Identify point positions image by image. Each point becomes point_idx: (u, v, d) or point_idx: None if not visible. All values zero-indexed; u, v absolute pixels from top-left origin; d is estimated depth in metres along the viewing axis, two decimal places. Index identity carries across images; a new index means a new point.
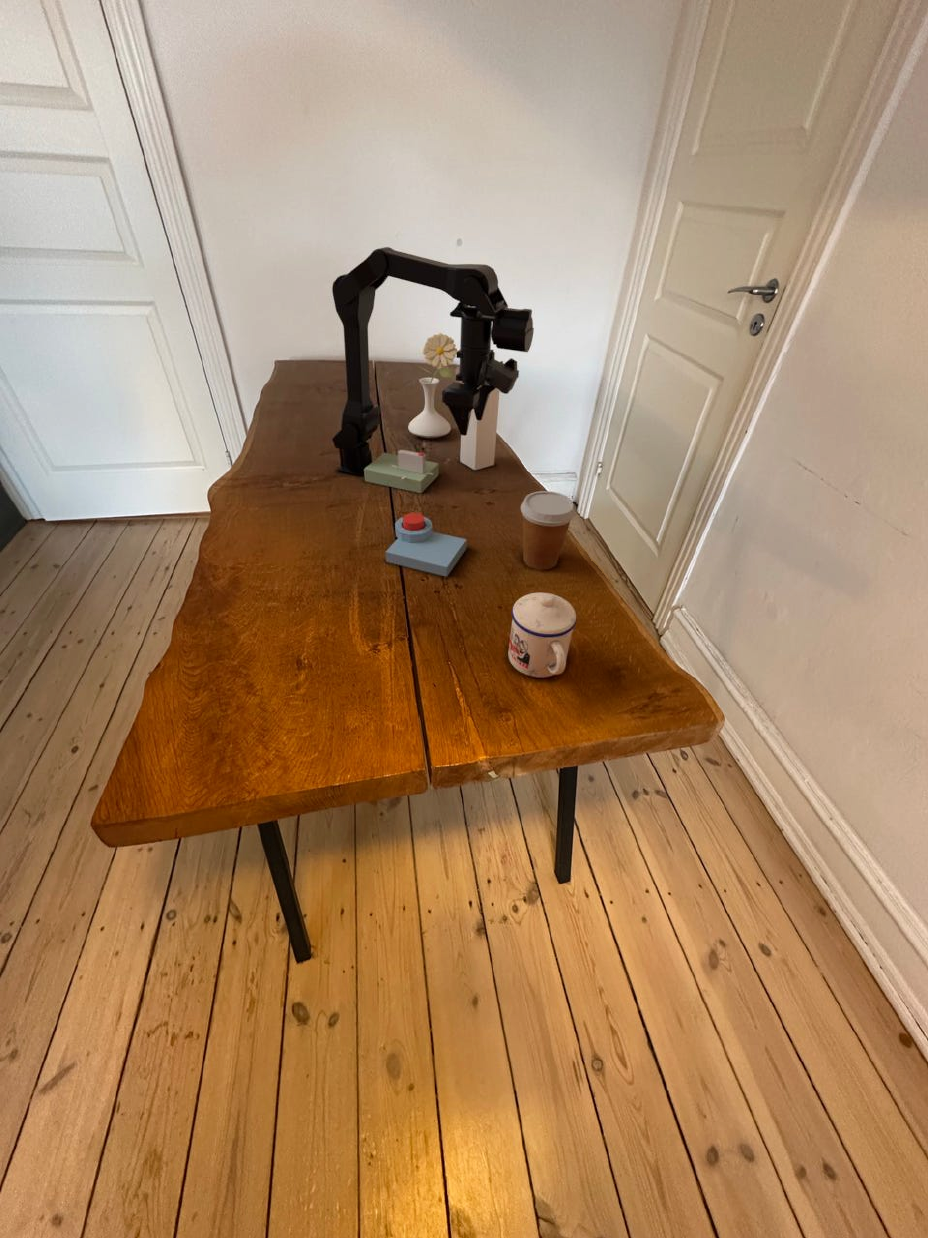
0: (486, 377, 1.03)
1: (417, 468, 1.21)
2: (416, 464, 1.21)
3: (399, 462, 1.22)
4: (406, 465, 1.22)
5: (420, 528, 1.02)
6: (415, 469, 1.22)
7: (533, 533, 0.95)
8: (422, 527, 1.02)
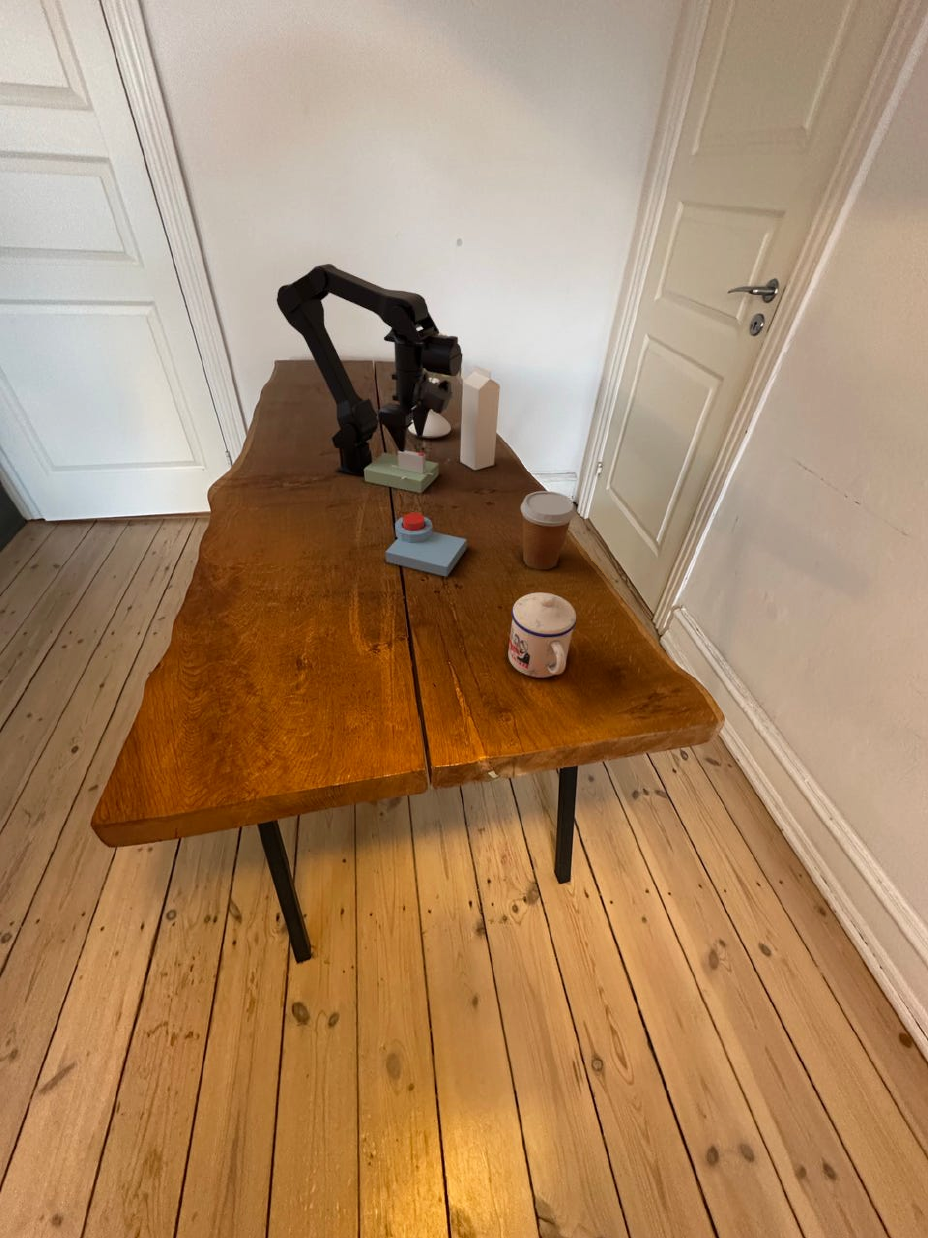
0: (419, 398, 1.09)
1: (417, 468, 1.21)
2: (416, 464, 1.21)
3: (399, 462, 1.22)
4: (406, 465, 1.22)
5: (420, 528, 1.02)
6: (415, 469, 1.22)
7: (533, 533, 0.95)
8: (422, 527, 1.02)
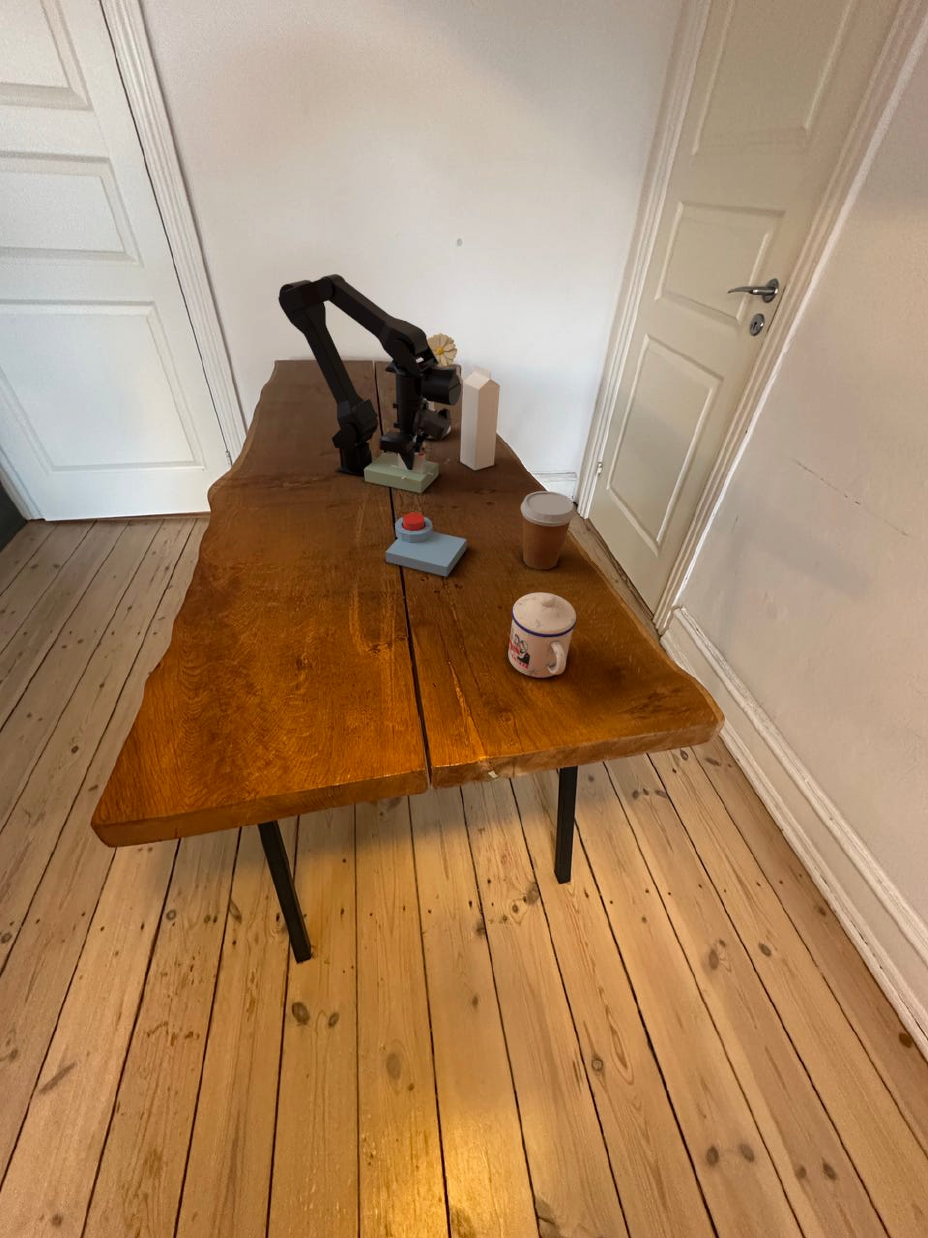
0: (420, 426, 1.13)
1: (417, 468, 1.21)
2: (416, 464, 1.21)
3: (399, 462, 1.22)
4: None
5: (420, 528, 1.02)
6: (415, 469, 1.22)
7: (533, 533, 0.95)
8: (422, 527, 1.02)
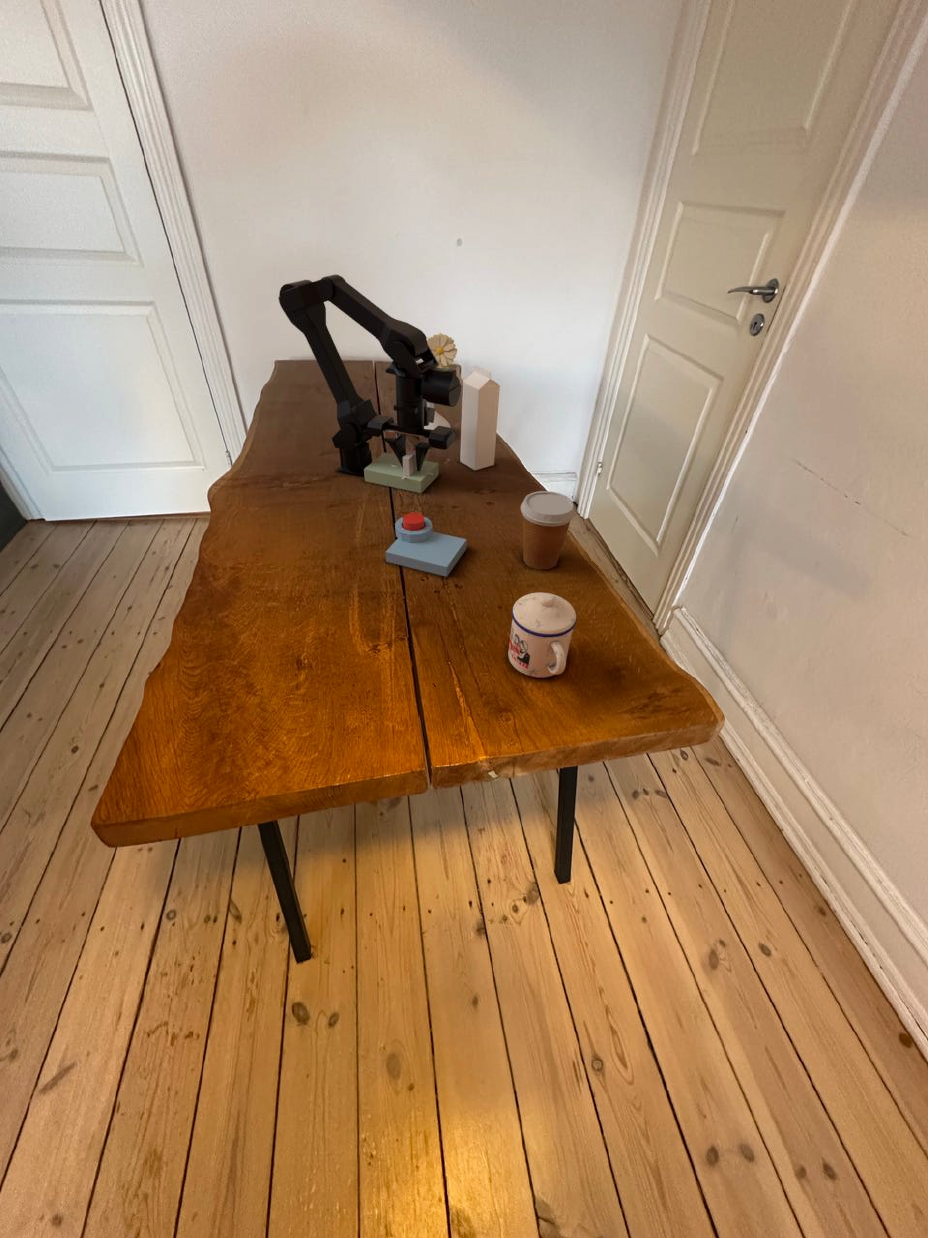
0: (429, 417, 1.17)
1: None
2: None
3: (409, 468, 1.20)
4: (412, 467, 1.21)
5: (420, 528, 1.02)
6: None
7: (533, 533, 0.95)
8: (422, 527, 1.02)
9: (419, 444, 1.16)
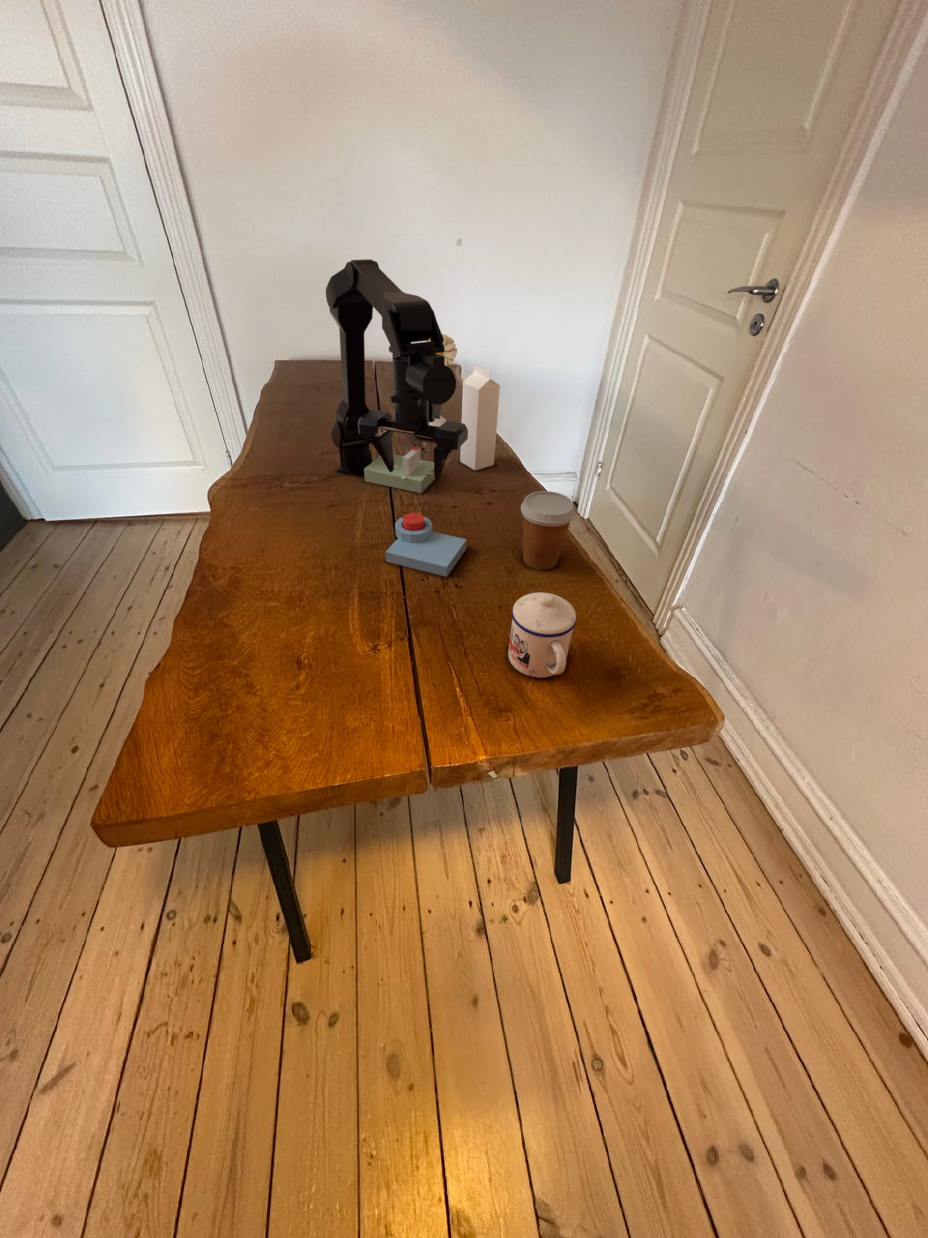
0: (434, 411, 0.96)
1: (417, 464, 1.23)
2: (417, 460, 1.22)
3: (409, 468, 1.20)
4: (412, 467, 1.21)
5: (420, 528, 1.02)
6: (417, 465, 1.23)
7: (533, 533, 0.95)
8: (422, 527, 1.02)
9: (438, 447, 0.93)
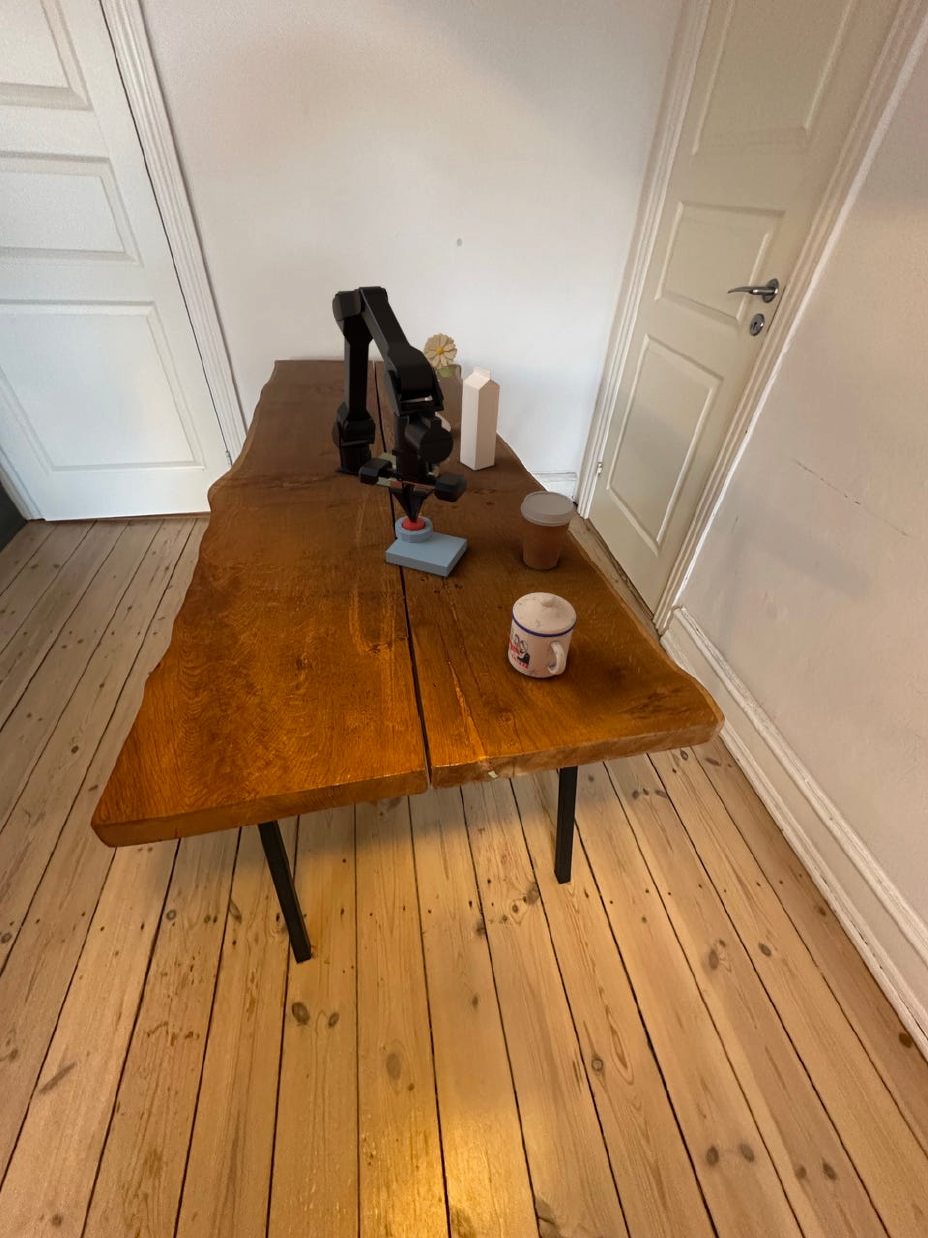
0: None
1: None
2: None
3: None
4: None
5: None
6: None
7: (533, 533, 0.95)
8: None
9: (414, 493, 0.96)
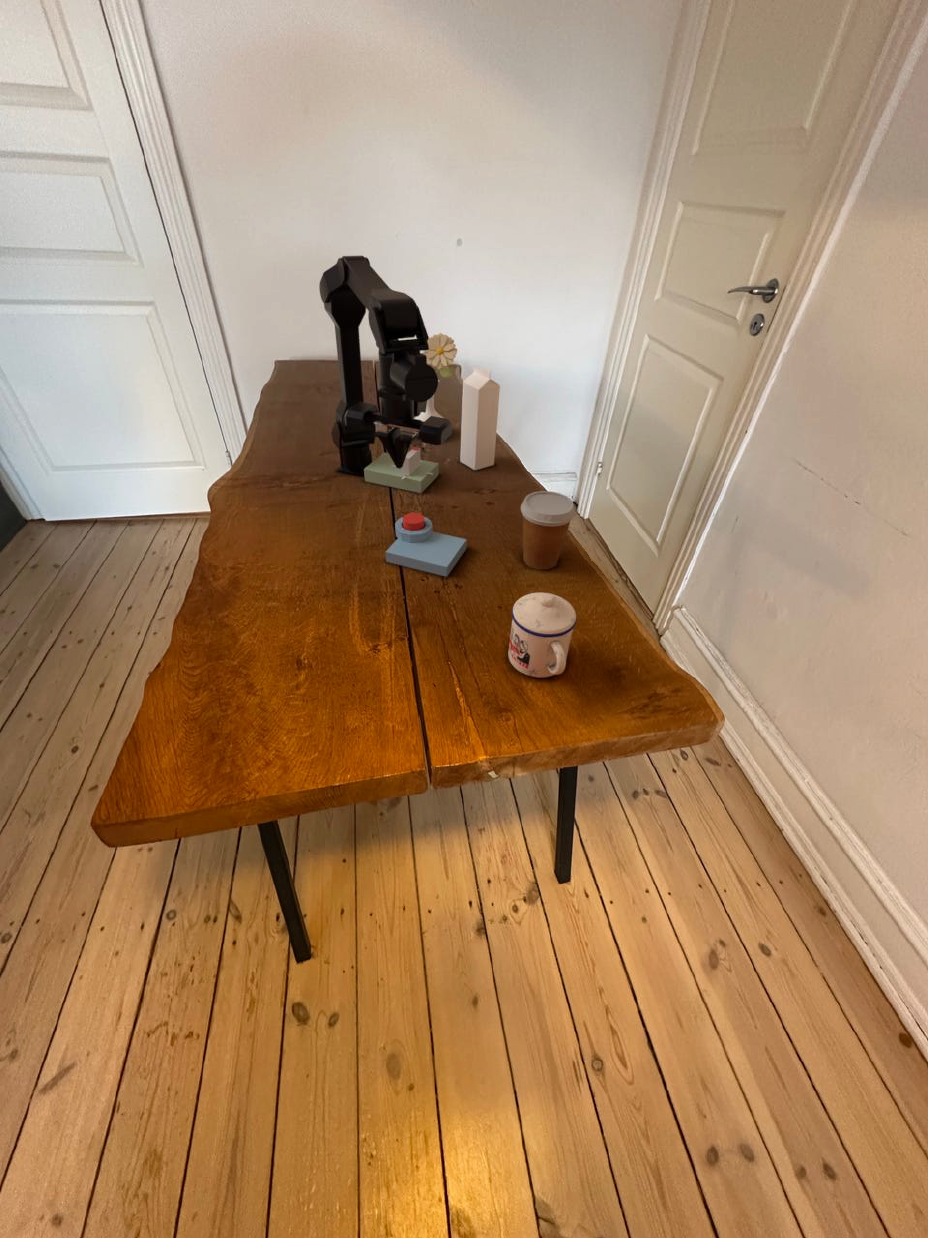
0: (420, 405, 0.98)
1: (417, 464, 1.23)
2: (417, 460, 1.22)
3: (409, 468, 1.20)
4: (412, 467, 1.21)
5: (420, 528, 1.02)
6: (417, 465, 1.23)
7: (533, 533, 0.95)
8: (422, 527, 1.02)
9: (400, 436, 0.97)
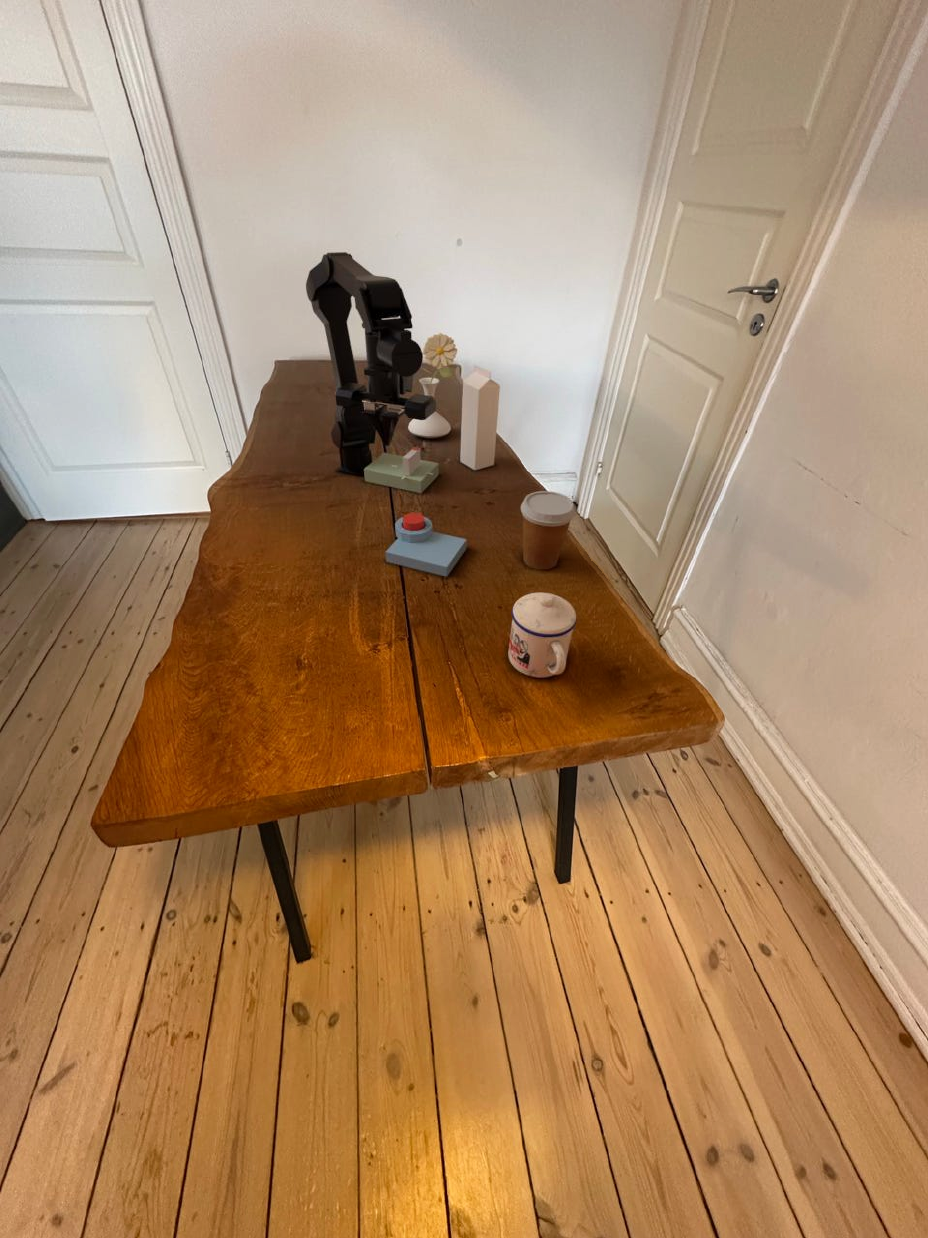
0: (405, 384, 1.03)
1: (417, 464, 1.23)
2: (417, 460, 1.22)
3: (409, 468, 1.20)
4: (412, 467, 1.21)
5: (420, 528, 1.02)
6: (417, 465, 1.23)
7: (533, 533, 0.95)
8: (422, 527, 1.02)
9: (386, 413, 1.02)
